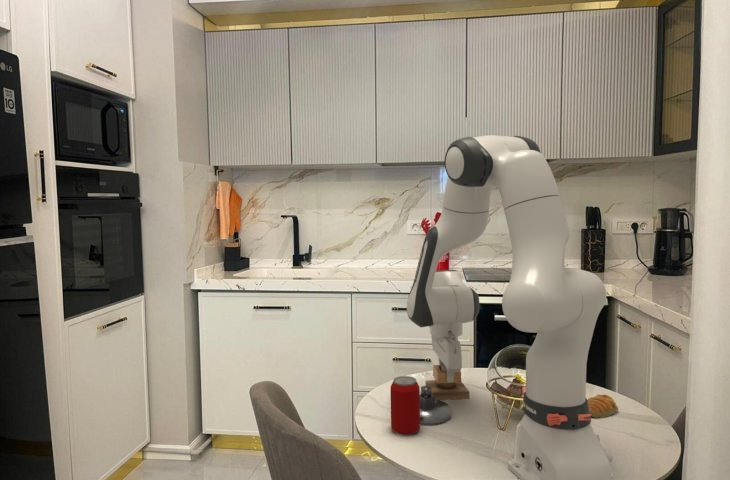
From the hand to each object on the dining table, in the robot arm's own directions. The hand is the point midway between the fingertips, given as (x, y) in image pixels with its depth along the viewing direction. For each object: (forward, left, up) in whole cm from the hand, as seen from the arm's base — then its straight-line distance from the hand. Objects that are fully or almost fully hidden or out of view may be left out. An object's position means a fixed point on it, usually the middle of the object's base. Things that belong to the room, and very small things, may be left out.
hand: (446, 376), depth 139 cm
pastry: (-17, -35, -5) cm, 39 cm away
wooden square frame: (0, 0, -1) cm, 1 cm away
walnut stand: (0, 0, -5) cm, 5 cm away
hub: (-14, +8, -5) cm, 17 cm away
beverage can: (-22, +15, -5) cm, 27 cm away
